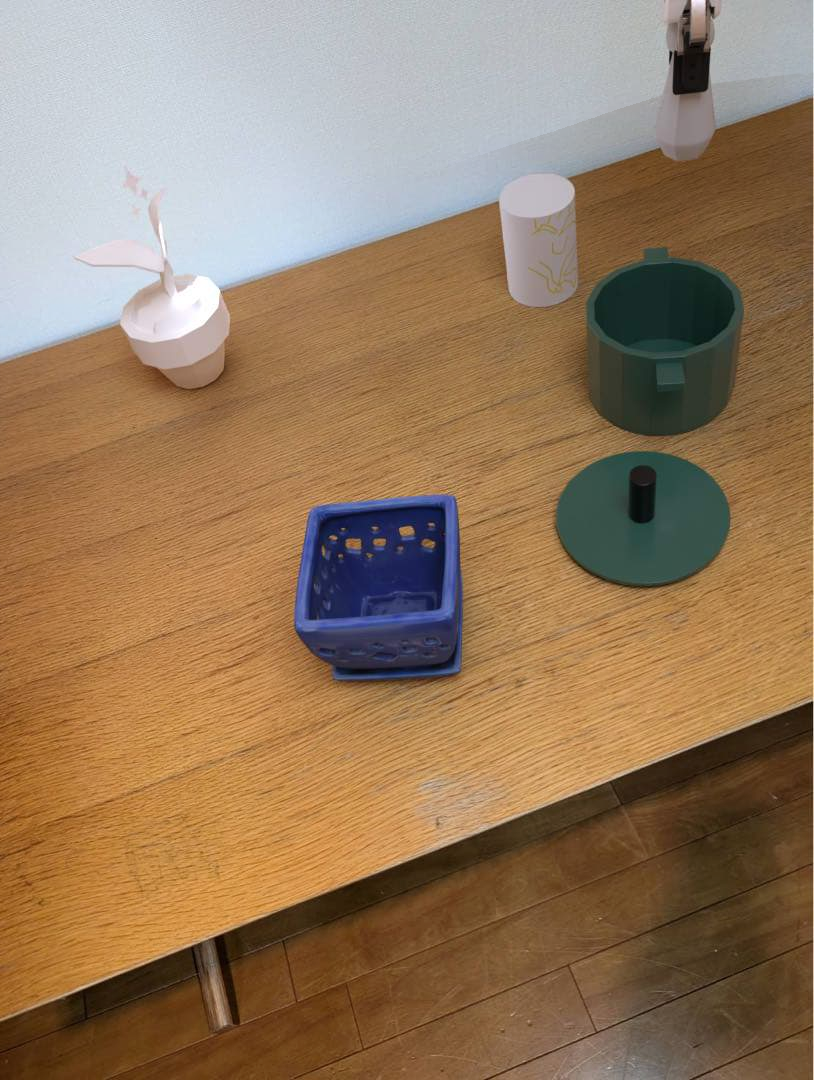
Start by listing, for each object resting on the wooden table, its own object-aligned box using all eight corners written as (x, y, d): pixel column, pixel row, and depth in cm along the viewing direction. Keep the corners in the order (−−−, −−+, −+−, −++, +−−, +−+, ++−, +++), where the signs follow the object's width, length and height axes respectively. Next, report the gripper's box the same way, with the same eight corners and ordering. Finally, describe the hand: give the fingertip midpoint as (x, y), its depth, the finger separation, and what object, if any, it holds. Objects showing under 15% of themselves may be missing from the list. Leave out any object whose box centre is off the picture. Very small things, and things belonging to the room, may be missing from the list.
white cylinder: (544, 316, 113) (537, 227, 104) (494, 289, 117) (483, 200, 108) (592, 279, 115) (590, 189, 106) (542, 254, 120) (535, 164, 111)
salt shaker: (643, 146, 102) (645, 18, 92) (692, 127, 102) (700, -3, 92) (674, 173, 98) (680, 42, 88) (725, 152, 99) (736, 20, 89)
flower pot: (335, 580, 95) (304, 501, 86) (473, 570, 93) (457, 488, 84) (324, 703, 87) (289, 631, 78) (474, 695, 85) (457, 620, 76)
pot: (721, 316, 108) (729, 235, 100) (744, 452, 96) (756, 372, 88) (585, 326, 111) (583, 248, 103) (591, 460, 99) (589, 383, 91)
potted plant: (235, 326, 121) (162, 139, 102) (255, 385, 114) (181, 195, 95) (136, 361, 120) (44, 178, 101) (151, 422, 113) (54, 238, 94)
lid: (719, 454, 97) (725, 406, 91) (739, 587, 87) (746, 542, 82) (555, 462, 99) (552, 416, 94) (557, 592, 90) (554, 549, 85)
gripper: (646, -171, 86) (643, 39, 100) (657, -91, 76) (652, 130, 90) (736, -186, 84) (720, 29, 99) (760, -106, 74) (738, 121, 89)
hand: (688, 75), depth 94 cm, fingers closed on salt shaker, 4 cm apart
